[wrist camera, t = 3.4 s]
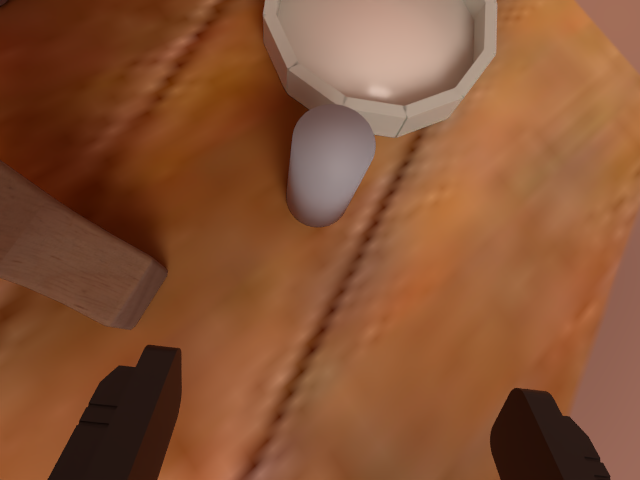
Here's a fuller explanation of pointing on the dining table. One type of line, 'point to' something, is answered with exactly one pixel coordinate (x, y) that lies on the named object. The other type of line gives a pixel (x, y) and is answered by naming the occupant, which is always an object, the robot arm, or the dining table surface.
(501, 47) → the dining table surface
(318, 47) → the round tray
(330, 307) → the dining table surface
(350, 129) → the grey peg
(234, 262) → the dining table surface
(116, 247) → the wooden block
